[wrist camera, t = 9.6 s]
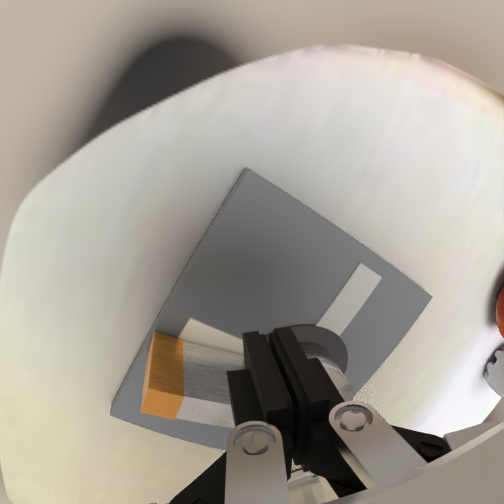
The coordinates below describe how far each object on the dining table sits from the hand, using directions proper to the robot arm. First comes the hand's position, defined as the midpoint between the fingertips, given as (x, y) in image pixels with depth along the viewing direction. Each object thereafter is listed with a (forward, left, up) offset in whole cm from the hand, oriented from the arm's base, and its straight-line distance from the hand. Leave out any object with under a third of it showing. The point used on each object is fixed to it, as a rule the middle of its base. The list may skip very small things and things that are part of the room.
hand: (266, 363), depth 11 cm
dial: (-4, +5, -7) cm, 10 cm away
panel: (-6, +5, -9) cm, 12 cm away
